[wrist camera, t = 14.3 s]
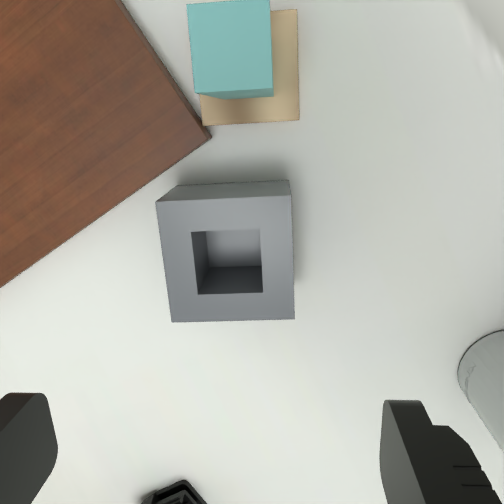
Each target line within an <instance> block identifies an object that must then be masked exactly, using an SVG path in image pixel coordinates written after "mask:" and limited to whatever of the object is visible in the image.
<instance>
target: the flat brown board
mask: <svg viewBox="0 0 504 504" xmlns="http://www.w3.org/2000/svg"><path fill="white" fill-rule="evenodd" d="M211 138H212V136H211V135H210V133H209V132H208V130H207V129H206V127H205V126H202V121H201V120H200V118H199V117H198V115H197V114H196V112H195V111H194V109H193V108H192V106H191V105H190V103H189V102H188V100H187V99H186V97H185V96H184V94H183V93H182V91H181V90H180V88H179V87H178V85H177V84H176V82H175V81H174V79H173V78H172V76H171V75H170V73H169V72H168V70H167V69H166V67H165V66H164V64H163V63H162V61H161V60H160V58H159V57H158V55H157V54H156V52H155V51H154V49H153V48H152V47H151V45H150V44H149V42H148V41H147V39H146V38H145V36H144V35H143V33H142V32H141V30H140V29H139V27H138V26H137V24H136V23H135V21H134V20H133V18H132V17H131V15H130V14H129V12H128V11H127V9H126V8H125V6H124V5H123V3H122V2H121V0H0V288H1V287H2V286H4V285H5V284H7V283H8V282H9V281H11V280H12V279H14V278H15V277H16V276H18V275H19V274H21V273H22V272H23V271H25V270H26V269H28V268H29V267H31V266H32V265H33V264H35V263H36V262H38V261H39V260H40V259H42V258H43V257H45V256H46V255H47V254H49V253H50V252H52V251H53V250H54V249H56V248H57V247H59V246H60V245H62V244H63V243H64V242H66V241H67V240H69V239H70V238H71V237H73V236H74V235H76V234H77V233H78V232H80V231H81V230H83V229H84V228H86V227H87V226H88V225H90V224H91V223H93V222H94V221H95V220H97V219H98V218H100V217H101V216H102V215H104V214H105V213H107V212H108V211H110V210H111V209H112V208H114V207H115V206H117V205H118V204H119V203H121V202H122V201H124V200H125V199H126V198H128V197H129V196H131V195H132V194H133V193H135V192H136V191H138V190H139V189H141V188H142V187H143V186H145V185H146V184H148V183H149V182H150V181H152V180H153V179H155V178H156V177H157V176H159V175H160V174H162V173H163V172H165V171H166V170H167V169H169V168H170V167H172V166H173V165H174V164H176V163H177V162H179V161H180V160H181V159H183V158H184V157H186V156H187V155H189V154H190V153H191V152H193V151H194V150H196V149H197V148H198V147H200V146H201V145H203V144H204V143H205V142H207V141H208V140H210V139H211Z"/></svg>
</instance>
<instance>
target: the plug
mask: <svg viewBox="0 0 504 504" xmlns="http://www.w3.org/2000/svg"><path fill="white" fill-rule="evenodd" d="M186 5H187V15H188V26H189V36H190V47H191V58H192V68H193V79H194V89H195V93H197V94H202V95H206V96H211V97H215V98H220V99H224V100H226V99H243V98H259V97H274V89H273V62H272V37H271V20H270V2H269V0H235V1H223V2H210V3H198V4H186Z"/></svg>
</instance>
